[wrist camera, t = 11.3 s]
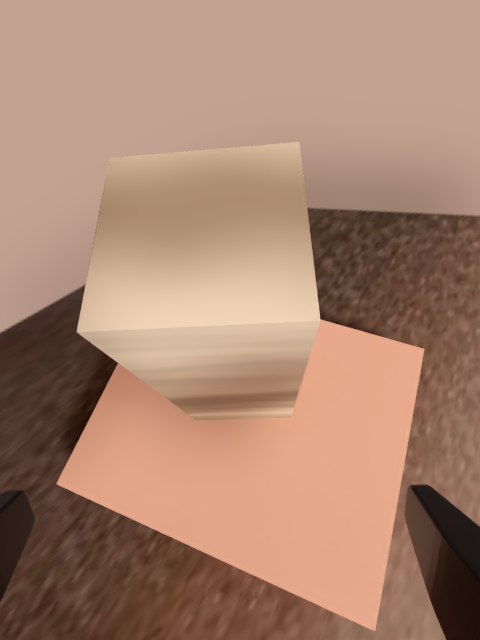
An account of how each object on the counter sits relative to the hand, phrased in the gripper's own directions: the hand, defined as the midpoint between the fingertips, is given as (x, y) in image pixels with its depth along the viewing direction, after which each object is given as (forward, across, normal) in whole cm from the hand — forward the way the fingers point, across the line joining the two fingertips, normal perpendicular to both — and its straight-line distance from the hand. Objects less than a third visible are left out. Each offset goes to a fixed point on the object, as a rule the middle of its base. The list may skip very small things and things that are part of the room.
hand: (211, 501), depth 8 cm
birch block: (+11, 0, +3) cm, 11 cm away
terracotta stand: (+12, 0, +6) cm, 13 cm away
